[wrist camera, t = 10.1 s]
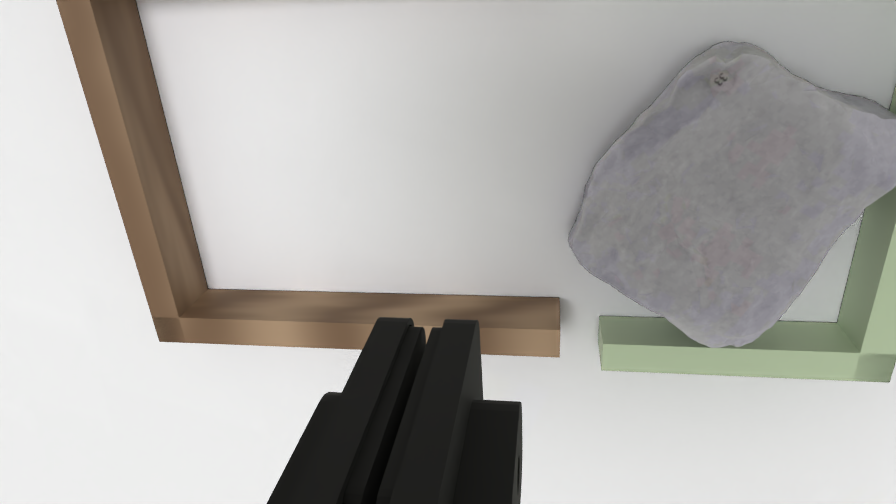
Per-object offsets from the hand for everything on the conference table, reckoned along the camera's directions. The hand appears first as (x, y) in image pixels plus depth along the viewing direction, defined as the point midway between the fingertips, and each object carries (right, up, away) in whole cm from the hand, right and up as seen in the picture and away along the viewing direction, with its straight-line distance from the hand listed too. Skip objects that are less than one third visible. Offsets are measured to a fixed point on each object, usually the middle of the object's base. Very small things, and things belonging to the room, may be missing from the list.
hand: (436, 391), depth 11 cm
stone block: (+12, +6, +18) cm, 22 cm away
